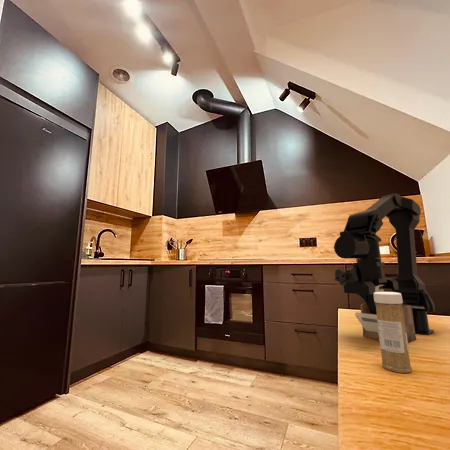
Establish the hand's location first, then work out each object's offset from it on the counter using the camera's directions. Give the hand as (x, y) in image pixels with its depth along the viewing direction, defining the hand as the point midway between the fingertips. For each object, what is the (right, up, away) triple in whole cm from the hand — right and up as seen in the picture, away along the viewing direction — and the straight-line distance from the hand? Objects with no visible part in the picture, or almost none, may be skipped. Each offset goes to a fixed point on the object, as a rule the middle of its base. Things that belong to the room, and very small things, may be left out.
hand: (375, 320), depth 63 cm
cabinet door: (+2, -4, +1) cm, 5 cm away
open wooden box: (+5, -6, +3) cm, 8 cm away
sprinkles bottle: (-7, -2, -18) cm, 20 cm away
